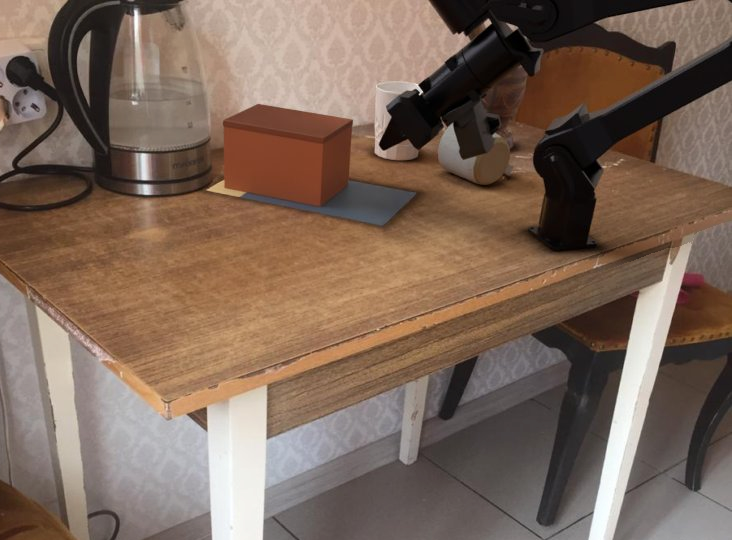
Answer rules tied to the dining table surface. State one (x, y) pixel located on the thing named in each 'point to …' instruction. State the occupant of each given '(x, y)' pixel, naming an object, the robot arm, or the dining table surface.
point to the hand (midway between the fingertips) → (381, 147)
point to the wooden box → (287, 154)
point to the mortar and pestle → (504, 96)
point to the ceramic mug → (475, 160)
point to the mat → (343, 202)
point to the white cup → (382, 117)
